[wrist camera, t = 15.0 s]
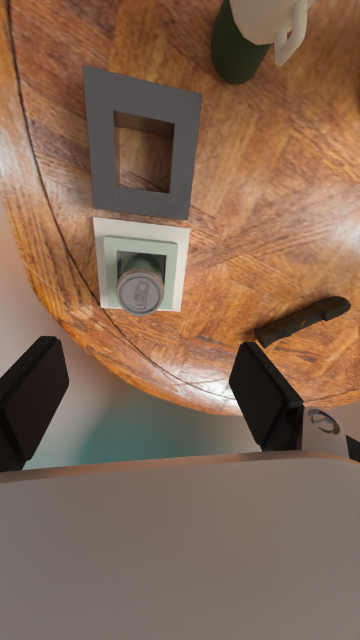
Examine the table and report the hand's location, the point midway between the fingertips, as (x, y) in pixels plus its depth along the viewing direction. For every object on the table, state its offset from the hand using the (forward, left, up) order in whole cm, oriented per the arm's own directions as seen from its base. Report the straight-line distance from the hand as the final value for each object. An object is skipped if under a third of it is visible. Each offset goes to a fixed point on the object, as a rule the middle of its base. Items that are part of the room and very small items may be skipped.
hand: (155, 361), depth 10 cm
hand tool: (+8, +30, -25) cm, 40 cm away
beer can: (+1, -1, -24) cm, 24 cm away
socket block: (-13, -2, -25) cm, 28 cm away
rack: (+1, -2, -25) cm, 25 cm away
